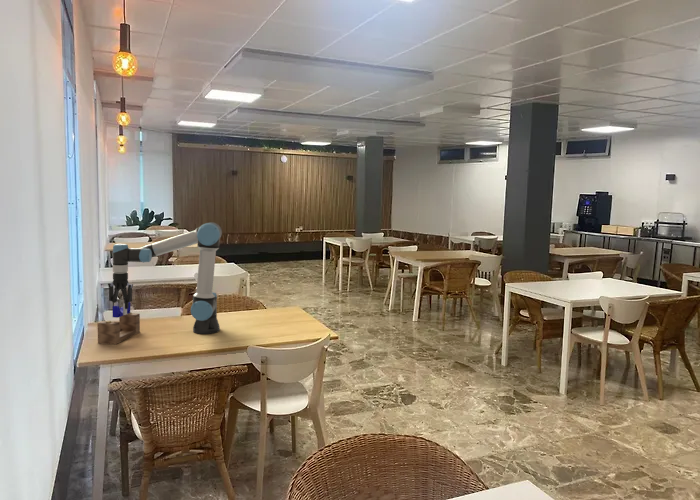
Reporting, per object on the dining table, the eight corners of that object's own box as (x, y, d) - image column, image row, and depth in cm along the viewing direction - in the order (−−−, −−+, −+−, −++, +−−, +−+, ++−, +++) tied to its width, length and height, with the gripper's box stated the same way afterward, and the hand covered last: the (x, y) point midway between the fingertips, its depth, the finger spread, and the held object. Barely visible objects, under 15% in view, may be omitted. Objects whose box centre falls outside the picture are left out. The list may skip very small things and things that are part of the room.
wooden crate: (139, 332, 290) (139, 312, 289) (115, 344, 267) (115, 322, 265) (123, 331, 291) (123, 311, 290) (97, 343, 268) (97, 321, 267)
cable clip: (122, 312, 283) (122, 301, 283) (130, 312, 283) (130, 302, 282) (109, 317, 272) (109, 306, 271) (117, 317, 271) (117, 306, 270)
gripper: (139, 272, 278) (139, 313, 280) (109, 270, 280) (109, 311, 282) (131, 274, 270) (131, 316, 273) (101, 272, 272) (101, 314, 275)
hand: (120, 314), depth 277 cm, fingers closed on cable clip, 4 cm apart
